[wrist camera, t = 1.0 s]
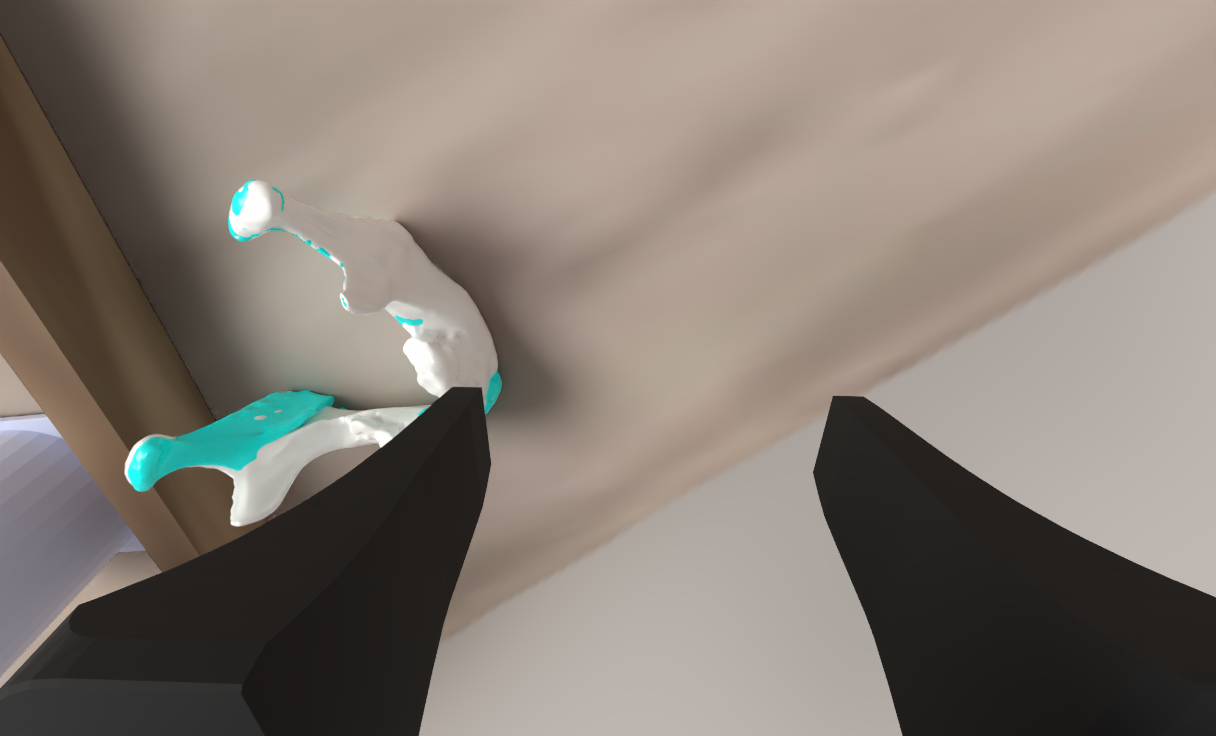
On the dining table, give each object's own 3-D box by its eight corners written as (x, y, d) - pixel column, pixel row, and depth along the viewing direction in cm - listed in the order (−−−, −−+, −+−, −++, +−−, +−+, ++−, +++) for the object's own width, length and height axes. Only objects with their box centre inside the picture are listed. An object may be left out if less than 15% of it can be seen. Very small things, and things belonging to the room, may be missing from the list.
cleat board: (229, 520, 28) (175, 590, 24) (-313, -369, 13) (-636, -508, 10) (421, 505, 27) (394, 575, 24) (75, -438, 13) (-123, -610, 9)
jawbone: (451, 499, 26) (278, 644, 18) (328, 386, 27) (106, 476, 19) (596, 303, 21) (443, 381, 13) (438, 168, 22) (196, 158, 13)
